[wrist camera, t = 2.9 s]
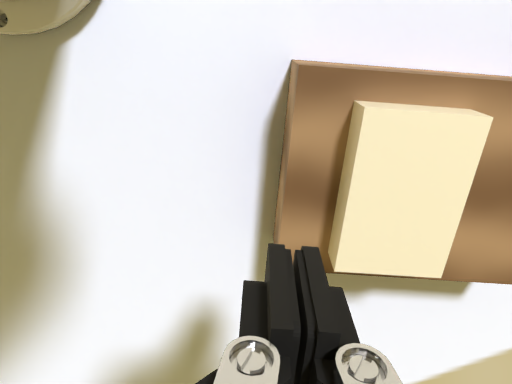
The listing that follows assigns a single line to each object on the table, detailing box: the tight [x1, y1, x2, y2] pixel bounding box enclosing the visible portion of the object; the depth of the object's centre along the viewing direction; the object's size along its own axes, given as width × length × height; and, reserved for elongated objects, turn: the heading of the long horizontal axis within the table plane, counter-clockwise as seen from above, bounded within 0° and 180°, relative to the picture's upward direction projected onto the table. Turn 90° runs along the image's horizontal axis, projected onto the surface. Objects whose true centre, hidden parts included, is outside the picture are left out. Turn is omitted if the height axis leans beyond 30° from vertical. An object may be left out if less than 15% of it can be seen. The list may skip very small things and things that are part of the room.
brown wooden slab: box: [273, 60, 512, 284], centre depth 22 cm, size 12×16×4 cm
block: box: [328, 100, 493, 278], centre depth 20 cm, size 9×6×2 cm, turn 176°
